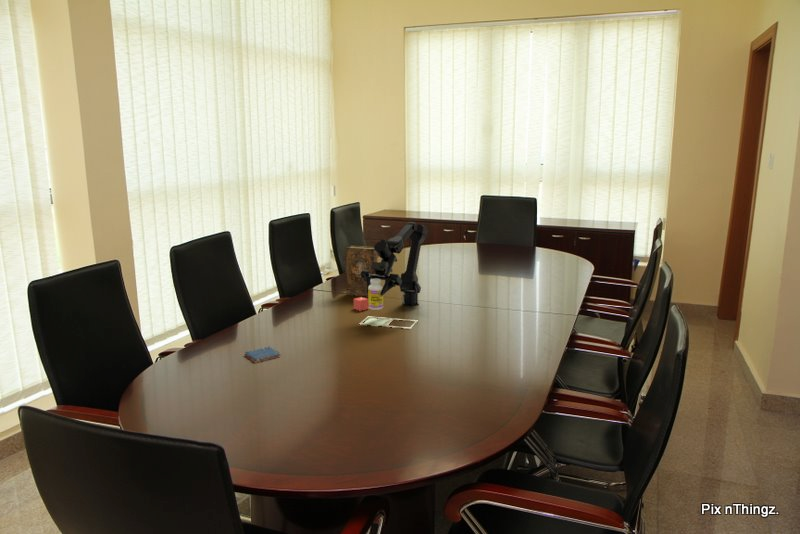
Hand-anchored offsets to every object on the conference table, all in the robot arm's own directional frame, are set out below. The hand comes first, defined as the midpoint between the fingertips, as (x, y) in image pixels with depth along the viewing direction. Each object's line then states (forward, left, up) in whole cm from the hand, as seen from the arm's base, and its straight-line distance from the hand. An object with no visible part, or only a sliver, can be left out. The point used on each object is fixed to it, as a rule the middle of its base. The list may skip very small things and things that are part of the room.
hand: (374, 294), depth 264 cm
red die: (0, -23, -13) cm, 26 cm away
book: (-8, -48, -13) cm, 50 cm away
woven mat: (+52, +25, -14) cm, 59 cm away
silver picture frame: (-6, +3, -13) cm, 14 cm away
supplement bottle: (-1, -1, -7) cm, 7 cm away
